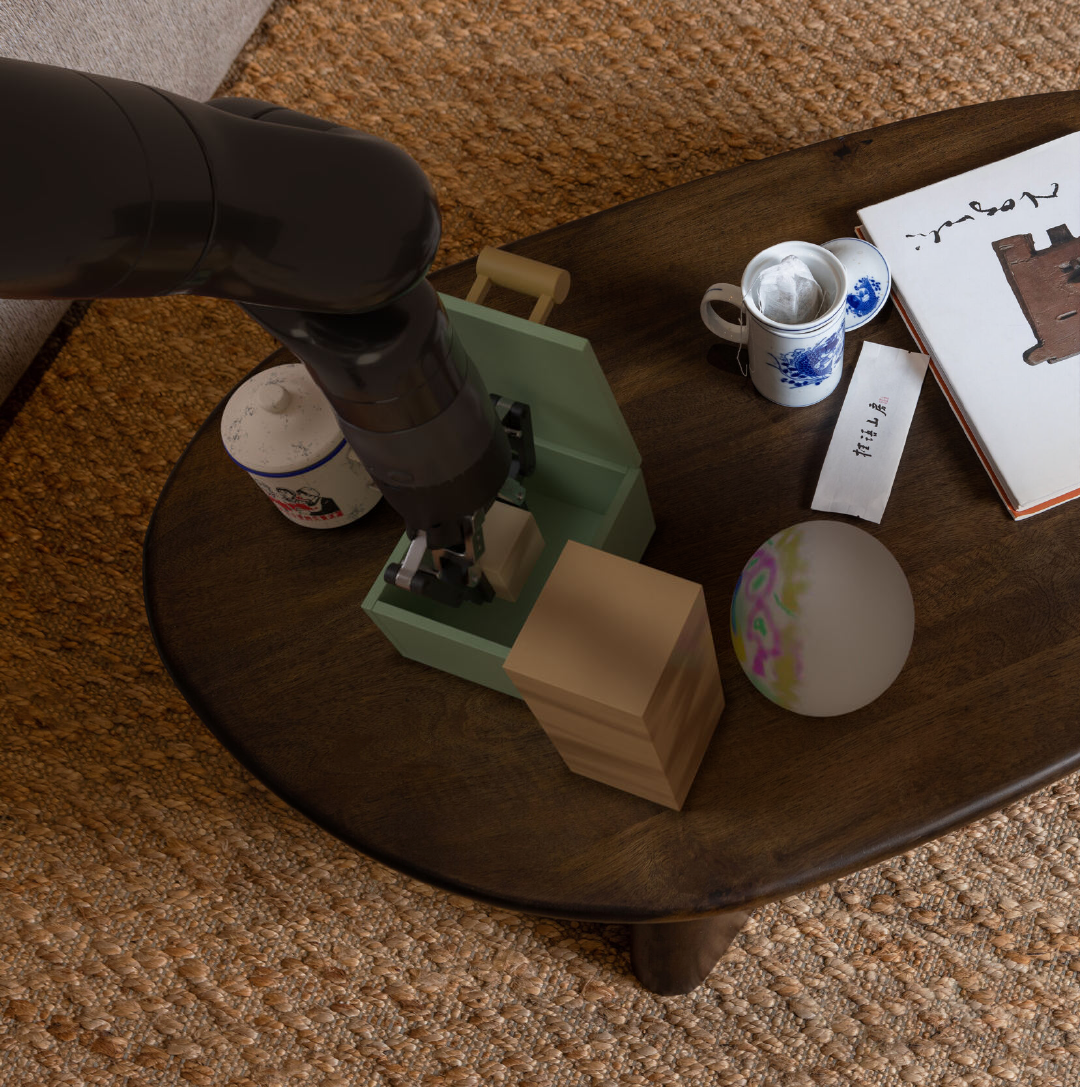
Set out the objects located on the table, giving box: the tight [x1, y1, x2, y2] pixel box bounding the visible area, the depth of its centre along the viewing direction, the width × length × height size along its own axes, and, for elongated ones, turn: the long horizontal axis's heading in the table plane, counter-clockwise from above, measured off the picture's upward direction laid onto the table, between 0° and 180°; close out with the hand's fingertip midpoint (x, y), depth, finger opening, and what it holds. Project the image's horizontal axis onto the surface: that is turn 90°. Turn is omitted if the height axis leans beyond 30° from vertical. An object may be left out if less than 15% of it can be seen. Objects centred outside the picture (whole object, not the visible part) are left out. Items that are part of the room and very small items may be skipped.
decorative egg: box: [729, 519, 916, 718], centre depth 77 cm, size 12×12×15 cm
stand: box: [503, 540, 726, 812], centre depth 72 cm, size 8×8×20 cm
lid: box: [437, 246, 643, 469], centre depth 73 cm, size 16×13×5 cm
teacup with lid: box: [220, 363, 383, 530], centre depth 84 cm, size 12×9×12 cm
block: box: [480, 500, 546, 602], centre depth 76 cm, size 5×5×5 cm
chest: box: [360, 435, 657, 701], centre depth 81 cm, size 16×13×9 cm
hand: (498, 560), depth 78 cm, fingers closed on block, 4 cm apart
